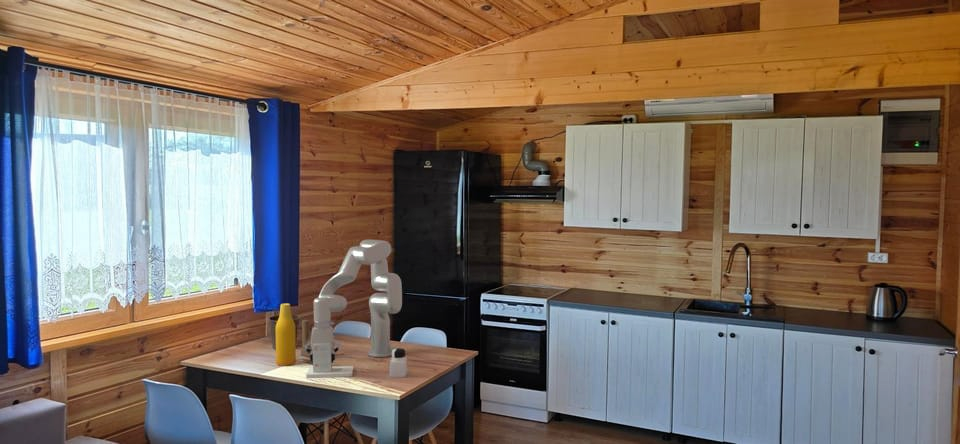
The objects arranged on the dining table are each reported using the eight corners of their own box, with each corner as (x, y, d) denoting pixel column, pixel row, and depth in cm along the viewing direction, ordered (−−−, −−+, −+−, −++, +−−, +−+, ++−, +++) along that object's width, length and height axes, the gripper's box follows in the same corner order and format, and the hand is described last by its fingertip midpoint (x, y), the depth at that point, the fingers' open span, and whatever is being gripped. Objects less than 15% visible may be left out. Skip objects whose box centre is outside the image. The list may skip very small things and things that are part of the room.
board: (353, 369, 305) (353, 365, 305) (351, 376, 293) (351, 373, 293) (309, 370, 302) (309, 367, 302) (306, 378, 290) (306, 374, 290)
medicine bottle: (406, 372, 299) (406, 347, 299) (405, 377, 292) (405, 351, 292) (391, 372, 299) (391, 347, 298) (389, 377, 292) (389, 351, 291)
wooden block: (314, 359, 322) (314, 323, 321) (300, 355, 328) (300, 320, 327) (320, 357, 325) (320, 322, 324) (306, 354, 331) (306, 319, 330)
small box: (332, 368, 301) (332, 340, 300) (331, 371, 295) (330, 343, 294) (314, 368, 300) (314, 340, 299) (312, 372, 294) (312, 344, 293)
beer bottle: (285, 360, 320) (285, 301, 318) (299, 362, 316) (299, 303, 314) (271, 364, 312) (270, 304, 310) (286, 367, 307) (285, 306, 306)
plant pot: (291, 352, 335) (291, 321, 334) (262, 350, 338) (262, 320, 337) (305, 344, 351) (304, 315, 350) (277, 343, 354) (276, 313, 353)
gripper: (342, 322, 301) (342, 359, 302) (303, 323, 299) (304, 360, 300) (341, 326, 293) (341, 363, 295) (301, 326, 291) (302, 365, 292)
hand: (322, 362), depth 297 cm, fingers closed on small box, 8 cm apart
